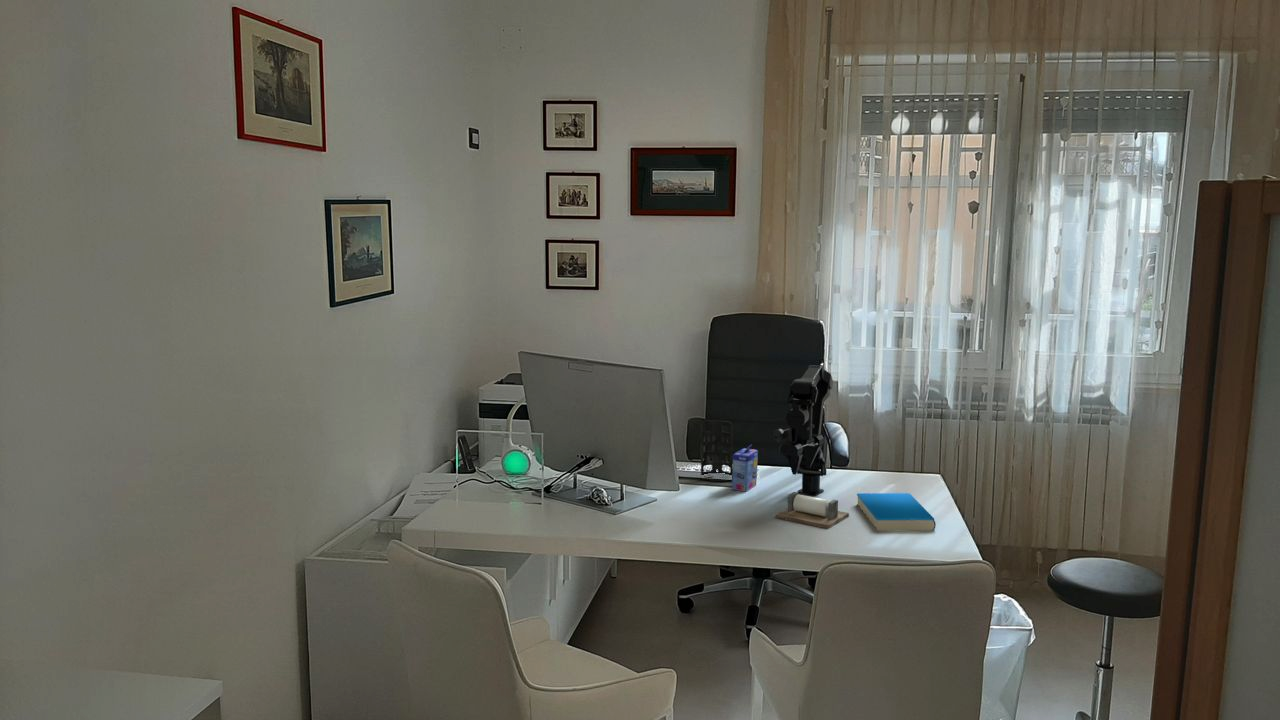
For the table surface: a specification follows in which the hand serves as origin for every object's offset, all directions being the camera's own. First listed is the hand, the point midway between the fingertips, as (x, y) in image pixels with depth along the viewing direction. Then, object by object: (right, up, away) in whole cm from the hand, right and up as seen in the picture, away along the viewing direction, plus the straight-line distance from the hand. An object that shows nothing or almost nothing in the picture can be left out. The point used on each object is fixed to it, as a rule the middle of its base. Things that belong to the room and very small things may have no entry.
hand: (801, 471), depth 291 cm
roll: (+2, -12, -9) cm, 15 cm away
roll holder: (+2, -13, -9) cm, 16 cm away
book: (+26, -13, -9) cm, 31 cm away
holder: (-24, -7, +32) cm, 40 cm away
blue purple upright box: (-15, -8, +22) cm, 27 cm away
